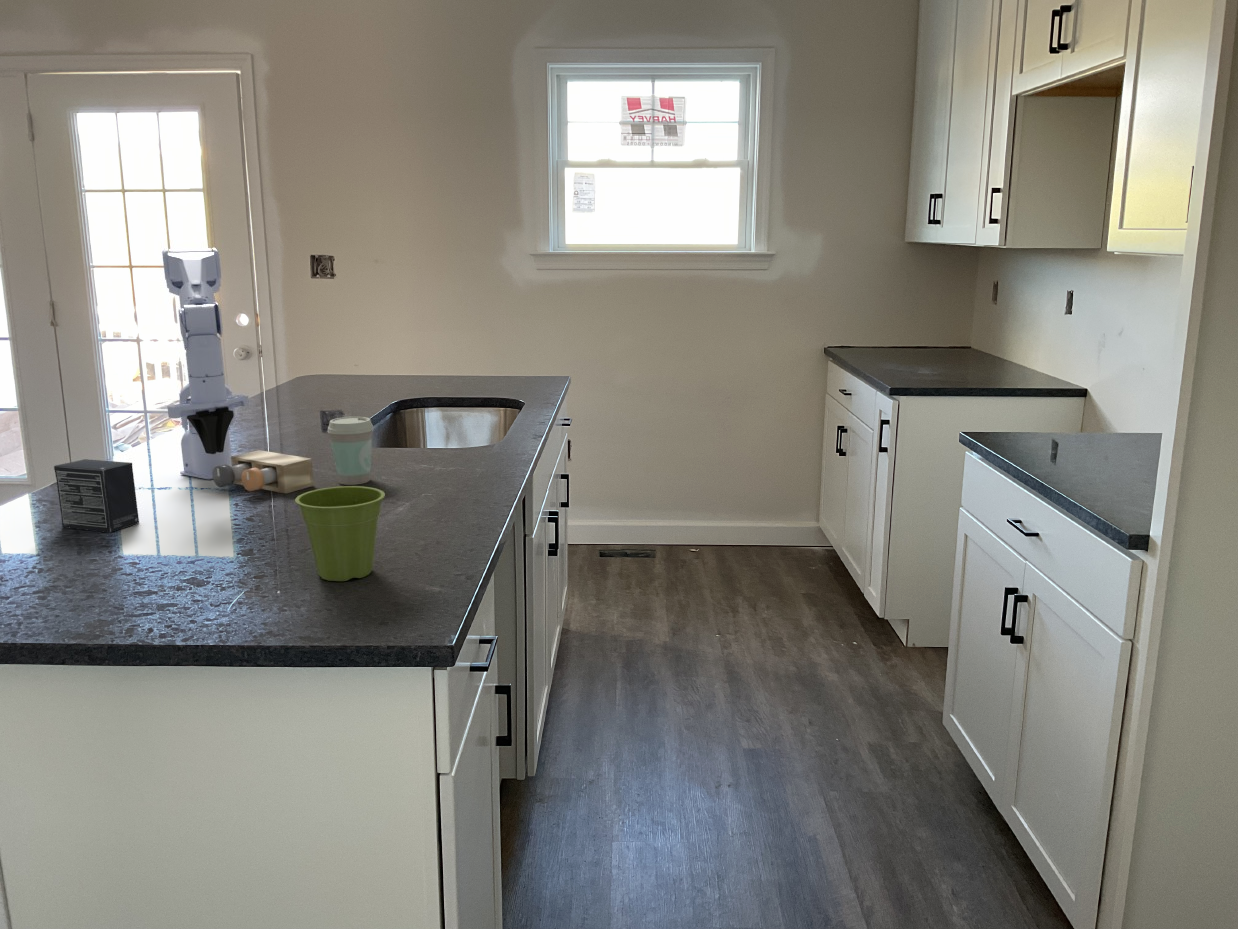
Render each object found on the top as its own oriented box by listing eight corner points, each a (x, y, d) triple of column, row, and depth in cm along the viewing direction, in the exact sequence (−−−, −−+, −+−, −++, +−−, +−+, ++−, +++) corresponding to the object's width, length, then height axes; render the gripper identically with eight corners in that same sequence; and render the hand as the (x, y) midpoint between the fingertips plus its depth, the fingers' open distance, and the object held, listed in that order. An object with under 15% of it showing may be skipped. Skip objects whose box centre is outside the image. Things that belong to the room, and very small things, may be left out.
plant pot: (389, 584, 131) (384, 504, 128) (297, 591, 128) (290, 510, 126) (390, 557, 142) (385, 482, 140) (306, 563, 140) (299, 487, 137)
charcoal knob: (226, 489, 178) (224, 467, 177) (212, 486, 180) (210, 465, 179) (258, 481, 183) (256, 460, 183) (244, 478, 186) (242, 458, 185)
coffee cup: (365, 487, 182) (360, 424, 179) (323, 485, 184) (318, 423, 181) (384, 476, 190) (380, 416, 187) (344, 475, 192) (340, 415, 189)
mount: (233, 483, 186) (230, 456, 185) (261, 476, 191) (259, 450, 190) (285, 493, 178) (283, 465, 177) (313, 485, 183) (311, 458, 182)
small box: (142, 522, 161) (135, 461, 158) (110, 534, 155) (102, 470, 152) (93, 517, 164) (85, 457, 162) (60, 528, 158) (51, 465, 156)
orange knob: (256, 492, 175) (254, 471, 174) (241, 489, 177) (239, 468, 176) (287, 484, 181) (285, 463, 180) (273, 481, 183) (271, 461, 182)
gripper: (182, 382, 158) (191, 463, 161) (257, 371, 170) (264, 447, 173) (156, 379, 161) (165, 458, 165) (231, 369, 173) (238, 443, 177)
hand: (214, 452), depth 169 cm, fingers closed
